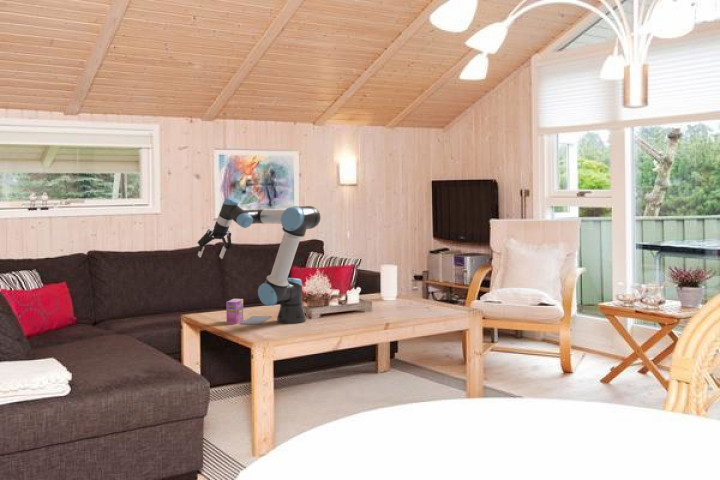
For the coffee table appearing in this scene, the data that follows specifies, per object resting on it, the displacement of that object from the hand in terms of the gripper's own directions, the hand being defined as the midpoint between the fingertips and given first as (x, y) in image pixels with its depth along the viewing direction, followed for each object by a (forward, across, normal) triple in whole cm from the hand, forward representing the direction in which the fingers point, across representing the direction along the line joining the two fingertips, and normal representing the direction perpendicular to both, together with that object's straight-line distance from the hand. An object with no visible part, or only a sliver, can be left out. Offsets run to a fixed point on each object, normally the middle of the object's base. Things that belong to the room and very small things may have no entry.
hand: (210, 256), depth 403 cm
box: (+18, -5, +36) cm, 41 cm away
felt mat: (+15, -15, +39) cm, 44 cm away
